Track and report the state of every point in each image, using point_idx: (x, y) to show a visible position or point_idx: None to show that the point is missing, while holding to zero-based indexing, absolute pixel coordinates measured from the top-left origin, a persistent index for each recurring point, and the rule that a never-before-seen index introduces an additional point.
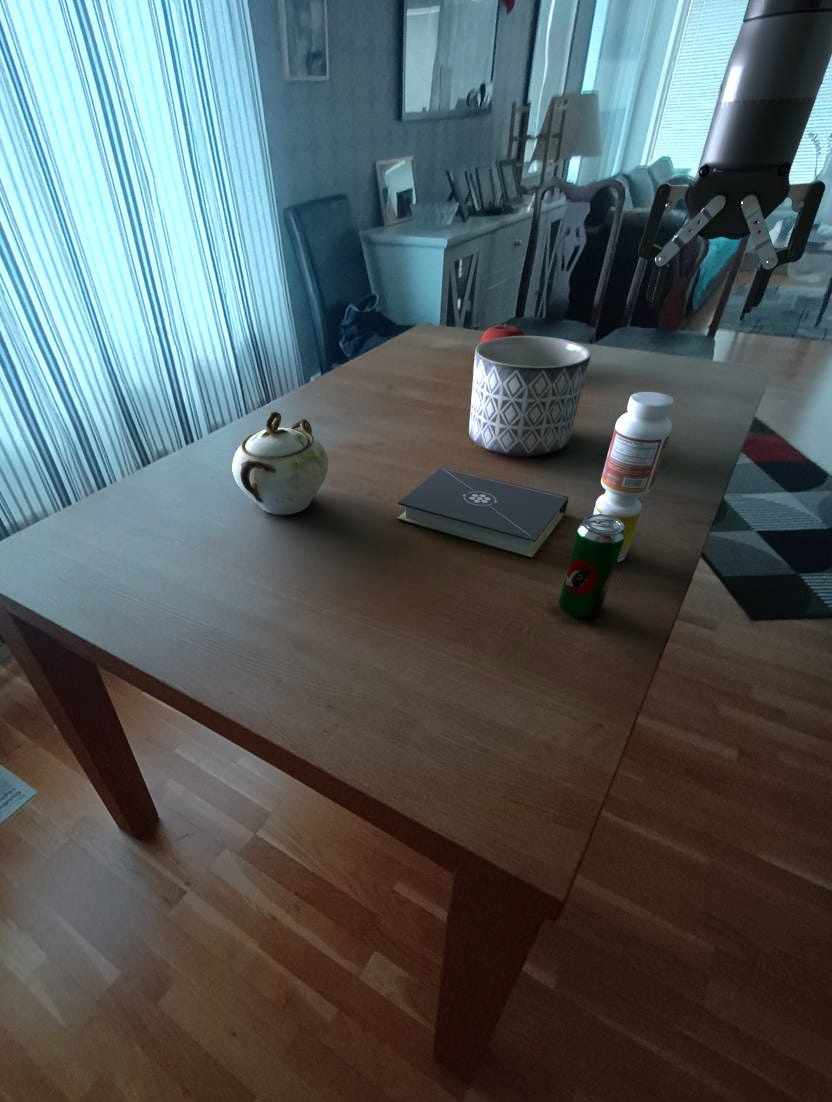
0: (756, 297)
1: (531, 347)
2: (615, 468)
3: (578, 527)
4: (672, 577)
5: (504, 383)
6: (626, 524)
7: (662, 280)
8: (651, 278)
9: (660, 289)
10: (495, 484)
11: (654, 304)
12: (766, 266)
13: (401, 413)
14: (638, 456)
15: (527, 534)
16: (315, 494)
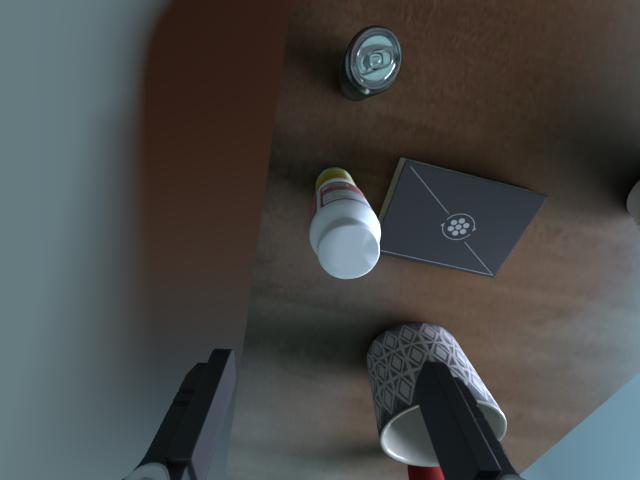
0: (197, 383)
1: (431, 451)
2: (361, 194)
3: (401, 63)
4: (275, 164)
5: (466, 380)
6: (326, 178)
7: (464, 425)
8: (493, 436)
9: (450, 399)
10: (440, 257)
11: (438, 365)
12: (156, 475)
13: (512, 377)
14: (342, 192)
15: (414, 169)
16: (636, 196)
